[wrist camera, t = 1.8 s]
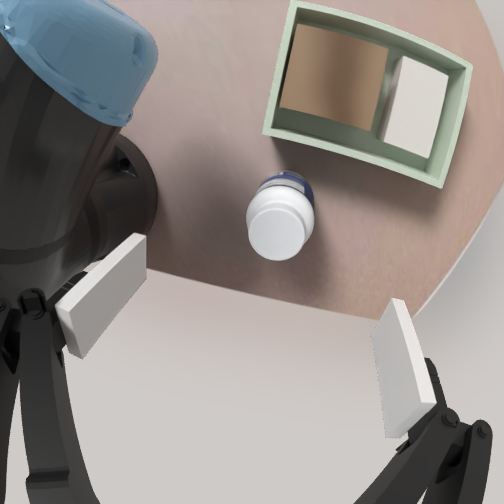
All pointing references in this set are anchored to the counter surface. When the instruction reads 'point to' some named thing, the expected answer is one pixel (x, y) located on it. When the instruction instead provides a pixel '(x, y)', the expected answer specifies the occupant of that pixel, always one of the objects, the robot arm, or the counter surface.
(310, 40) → the walnut block
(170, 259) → the counter surface
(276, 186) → the pill bottle
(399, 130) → the white box
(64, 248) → the robot arm
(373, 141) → the box
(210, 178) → the counter surface
